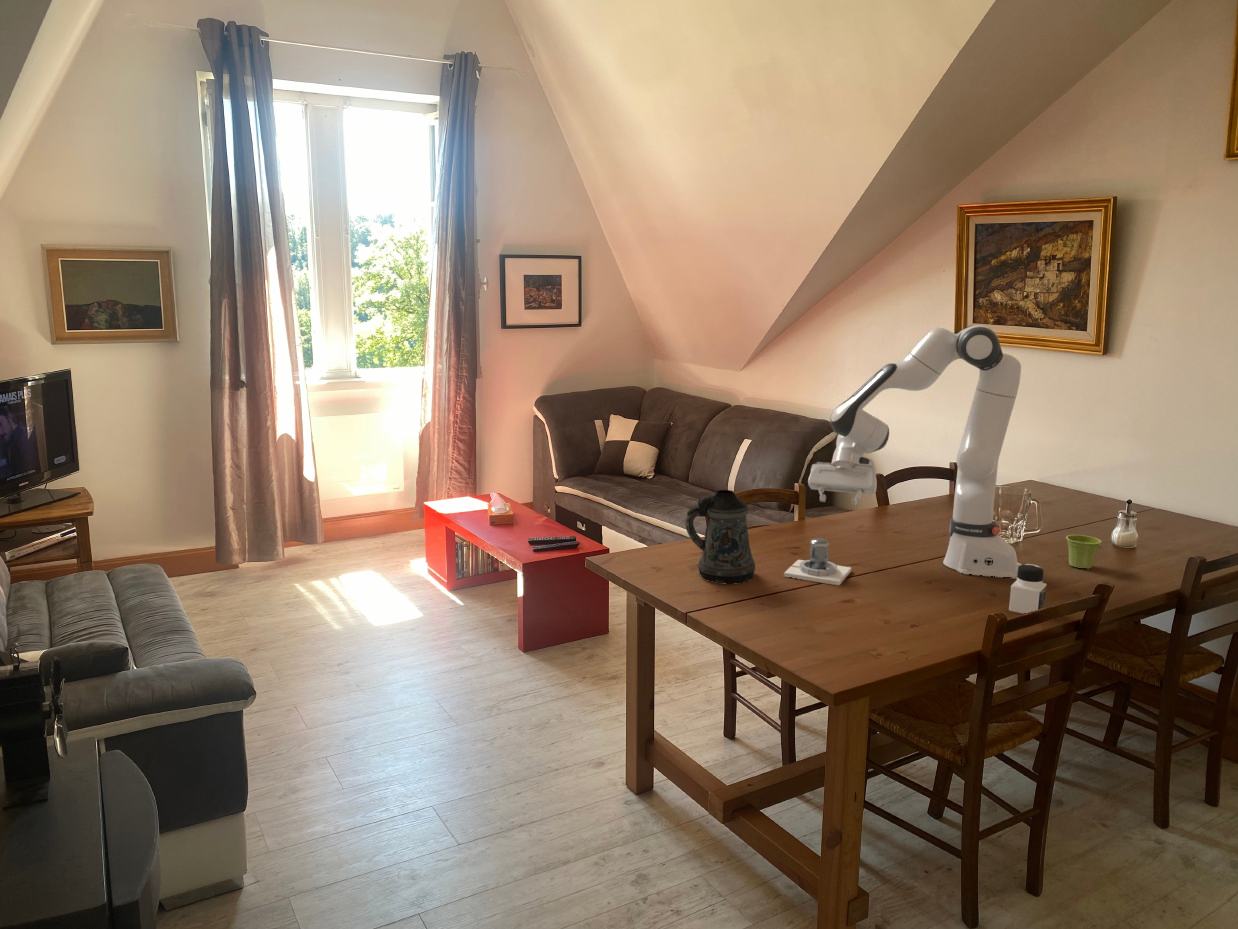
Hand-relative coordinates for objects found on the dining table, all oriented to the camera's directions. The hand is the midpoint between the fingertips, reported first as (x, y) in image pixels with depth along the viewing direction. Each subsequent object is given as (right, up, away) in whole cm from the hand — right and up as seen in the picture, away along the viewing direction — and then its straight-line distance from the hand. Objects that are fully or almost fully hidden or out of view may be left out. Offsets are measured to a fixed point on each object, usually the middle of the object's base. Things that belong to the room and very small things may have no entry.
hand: (837, 502), depth 270 cm
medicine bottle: (+41, -27, -35) cm, 60 cm away
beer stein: (-36, -21, -9) cm, 42 cm away
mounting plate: (-8, -21, -7) cm, 23 cm away
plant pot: (+73, -20, +1) cm, 76 cm away
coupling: (-7, -19, -7) cm, 22 cm away
